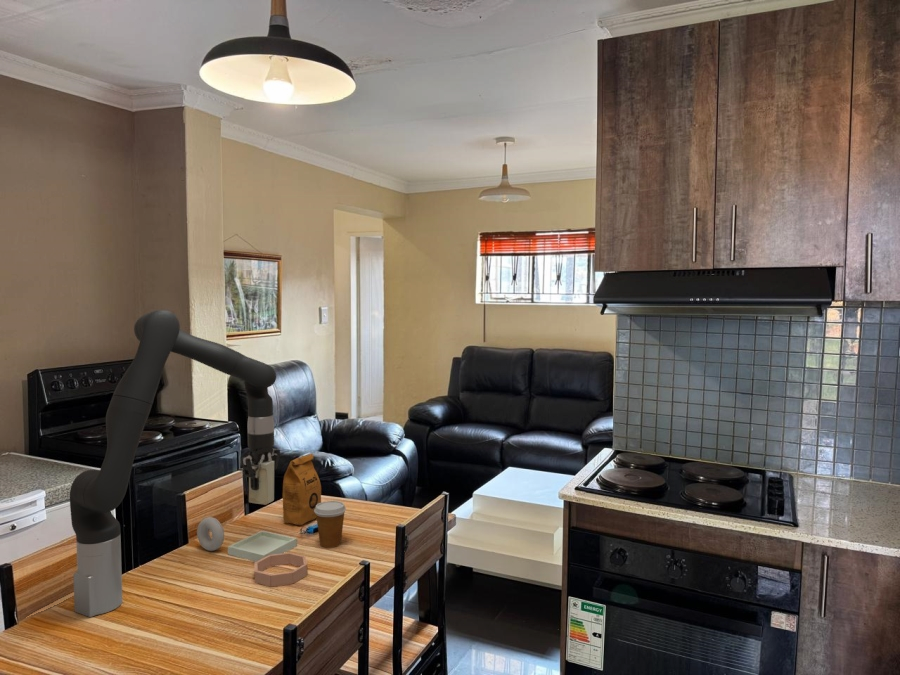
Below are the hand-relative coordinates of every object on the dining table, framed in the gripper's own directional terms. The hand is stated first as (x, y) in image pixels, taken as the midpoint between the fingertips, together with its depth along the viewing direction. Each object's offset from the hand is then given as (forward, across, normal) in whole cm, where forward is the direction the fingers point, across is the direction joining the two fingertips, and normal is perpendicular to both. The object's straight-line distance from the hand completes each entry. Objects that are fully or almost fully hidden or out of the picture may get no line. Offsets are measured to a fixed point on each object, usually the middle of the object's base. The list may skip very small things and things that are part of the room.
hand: (261, 487), depth 178 cm
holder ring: (+19, -10, -16) cm, 27 cm away
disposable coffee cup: (+19, +13, -15) cm, 28 cm away
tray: (+19, 0, 0) cm, 19 cm away
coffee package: (+19, +25, +6) cm, 32 cm away
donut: (+19, -7, +14) cm, 25 cm away
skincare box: (+5, 0, 0) cm, 5 cm away
